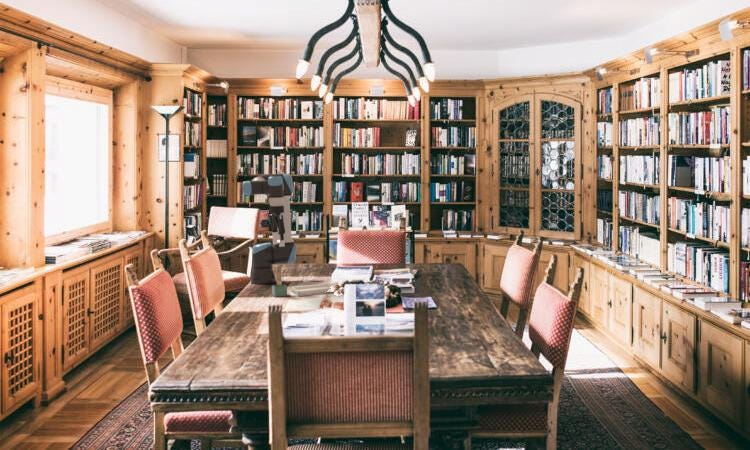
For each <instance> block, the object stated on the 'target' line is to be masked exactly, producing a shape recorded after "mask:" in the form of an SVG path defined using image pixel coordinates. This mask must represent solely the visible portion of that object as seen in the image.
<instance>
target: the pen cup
mask: <svg viewBox="0 0 750 450" xmlns="http://www.w3.org/2000/svg"><path fill="white" fill-rule="evenodd" d="M271 294H272V296H273V297H285V296H288V287H287V285H286V284H283V283H282V286H281V287H277V284H274V285H271Z"/></svg>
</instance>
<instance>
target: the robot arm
mask: <svg viewBox="0 0 750 450" xmlns="http://www.w3.org/2000/svg"><path fill="white" fill-rule="evenodd" d="M242 193H243V195H244V196H255V195H256V196H257V195H258V196H259V195H269V197H268V198H269V199H268V202H269V213H270V214H271V225H270V226H271V227H270V230H271V232H272V233H271V234H272V243H271V242H265V243H258V244H255V245H253V246H252V248H251V250H252V251H251V256H252V271H251V272H252V273H251V277H250V283H251V284H253V283H254V285H258V284H259V285H260V284H261V285H263V284H272V283H275V282H276V273H275V271H274V268H273V265H284V264H287V265H288V264H294V263H295V262H296V259H297V258H296V257H297V248H298V247H297V243H295V241H294V239H292V224H291V223H292V221H291V203H290V202H291V201H290V200H291V198H292V196H293V193H295V187H294V182H293V177H292V175H291V174H290V173H274V174H272V173H270V174H262V175H259V176H256V177H253V179H251V180H246V181H243V182H242Z"/></svg>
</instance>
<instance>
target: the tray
mask: <svg viewBox="0 0 750 450" xmlns="http://www.w3.org/2000/svg"><path fill="white" fill-rule="evenodd" d="M332 285H333V284H331V283H330V282H329V283H328V282H327V283H318V284H316V283H315V284H310V285H309V284H308V285H307V284H306V285H300V286H299V285H298V286H290V292H291V293H293V294H294V295H295V296H297V297H303V296H304V297H305V296H312V295H320V294H323V295H324V294H326V293H325V292H327V291H328V290H329V289H331V288H330V287H331V286H332Z"/></svg>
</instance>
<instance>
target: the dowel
mask: <svg viewBox="0 0 750 450" xmlns="http://www.w3.org/2000/svg"><path fill="white" fill-rule="evenodd" d="M281 266H282V264H275V277H276V284H275V285H277V287H281V286H282V284H283V282H282V279H283V278H282V267H281Z"/></svg>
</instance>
